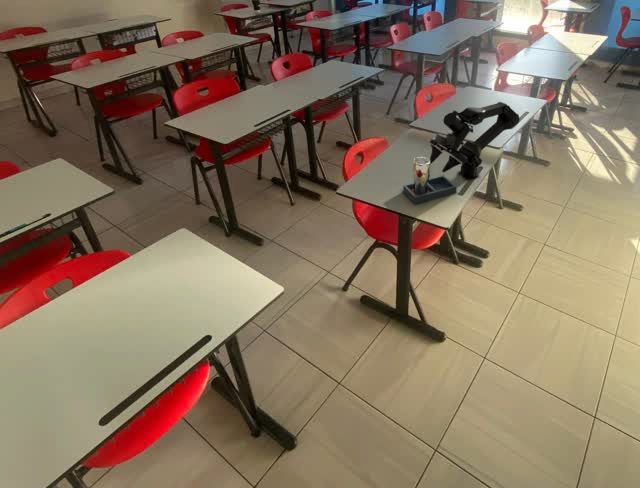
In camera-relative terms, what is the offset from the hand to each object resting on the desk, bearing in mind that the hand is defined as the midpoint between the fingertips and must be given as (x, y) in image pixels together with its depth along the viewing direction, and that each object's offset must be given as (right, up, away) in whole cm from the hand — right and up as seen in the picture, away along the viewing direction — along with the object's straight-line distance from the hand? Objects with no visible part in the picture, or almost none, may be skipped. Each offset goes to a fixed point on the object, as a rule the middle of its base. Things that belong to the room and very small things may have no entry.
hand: (436, 167), depth 170 cm
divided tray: (-2, -10, +2) cm, 11 cm away
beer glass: (-6, -10, 0) cm, 12 cm away
